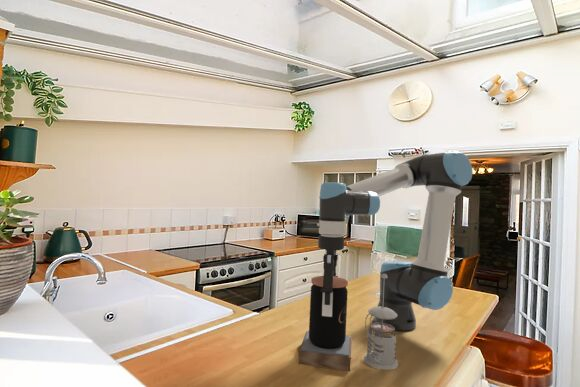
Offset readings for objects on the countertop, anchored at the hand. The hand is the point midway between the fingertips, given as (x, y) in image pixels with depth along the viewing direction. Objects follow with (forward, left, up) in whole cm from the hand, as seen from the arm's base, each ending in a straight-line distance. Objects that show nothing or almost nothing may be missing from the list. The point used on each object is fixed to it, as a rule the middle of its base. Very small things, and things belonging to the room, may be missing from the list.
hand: (328, 308), depth 99 cm
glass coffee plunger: (-15, -2, -14) cm, 21 cm away
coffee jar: (0, 0, -10) cm, 10 cm away
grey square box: (0, 0, -14) cm, 14 cm away
